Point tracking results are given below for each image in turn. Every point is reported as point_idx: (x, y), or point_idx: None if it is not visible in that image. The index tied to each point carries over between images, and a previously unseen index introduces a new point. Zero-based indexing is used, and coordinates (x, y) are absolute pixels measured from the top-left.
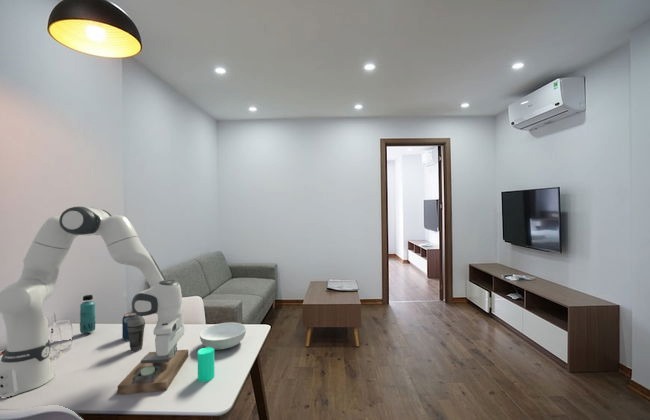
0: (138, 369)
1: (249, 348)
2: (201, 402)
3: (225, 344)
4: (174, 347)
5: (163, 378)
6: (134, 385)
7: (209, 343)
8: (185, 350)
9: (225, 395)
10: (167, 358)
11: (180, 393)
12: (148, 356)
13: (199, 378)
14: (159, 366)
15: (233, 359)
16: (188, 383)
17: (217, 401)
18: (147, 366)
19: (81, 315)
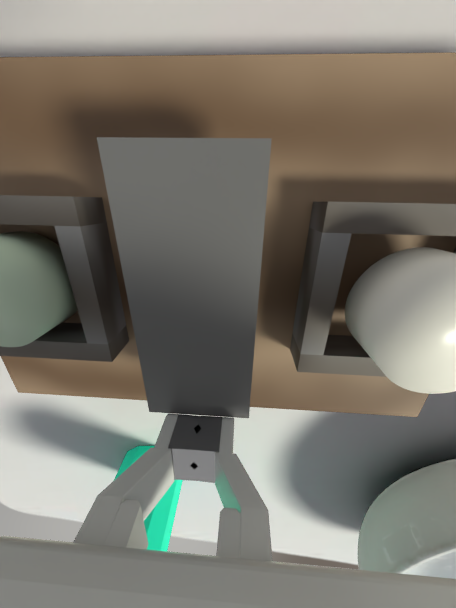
0: (152, 130)
1: (352, 552)
2: (13, 467)
3: (358, 562)
4: (229, 507)
5: (45, 371)
6: None
7: (392, 534)
8: (408, 404)
9: (58, 507)
10: (161, 403)
11: (44, 412)
12: (212, 205)
13: (121, 464)
14: (106, 344)
15: (277, 519)
16: (112, 423)
17: (27, 495)
18: (25, 277)
19: None
